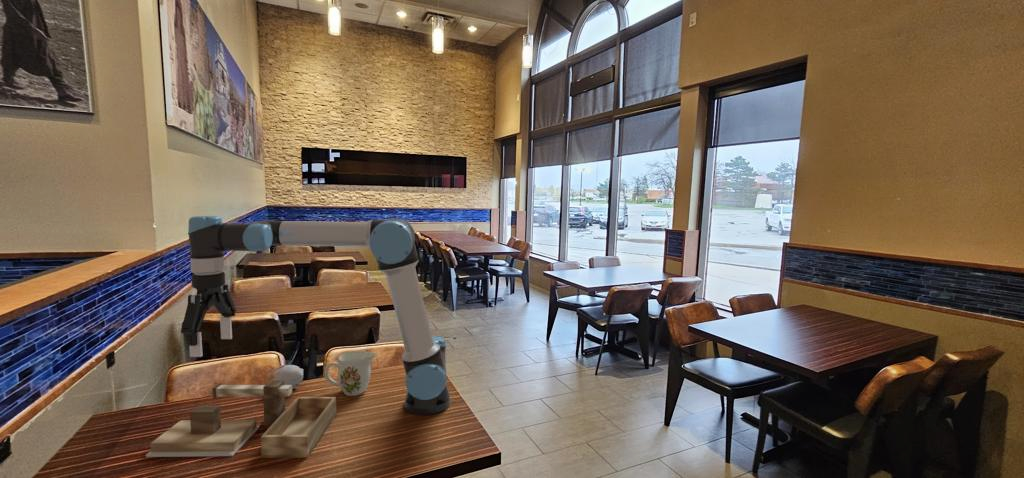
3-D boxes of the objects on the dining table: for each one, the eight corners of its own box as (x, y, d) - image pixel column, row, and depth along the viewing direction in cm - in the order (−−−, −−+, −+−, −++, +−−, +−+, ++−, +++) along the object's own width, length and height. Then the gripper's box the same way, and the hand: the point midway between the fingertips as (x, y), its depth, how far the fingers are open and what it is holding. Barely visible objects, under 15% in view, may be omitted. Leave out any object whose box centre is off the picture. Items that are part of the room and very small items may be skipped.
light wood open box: (336, 414, 136) (335, 377, 135) (307, 457, 114) (307, 413, 113) (274, 415, 135) (273, 377, 133) (234, 458, 113) (232, 413, 111)
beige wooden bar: (292, 393, 132) (292, 383, 131) (288, 398, 129) (287, 388, 128) (219, 393, 130) (219, 383, 130) (212, 398, 127) (212, 388, 127)
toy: (277, 393, 158) (267, 403, 144) (267, 371, 158) (257, 379, 144) (313, 376, 162) (307, 384, 148) (304, 355, 162) (297, 361, 148)
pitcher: (330, 385, 156) (329, 349, 155) (380, 384, 158) (380, 348, 157) (320, 399, 145) (319, 361, 144) (374, 398, 147) (374, 360, 146)
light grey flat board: (259, 427, 128) (259, 425, 127) (232, 456, 114) (232, 453, 114) (182, 427, 126) (182, 425, 126) (145, 456, 112) (145, 454, 112)
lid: (181, 428, 125) (179, 399, 124) (256, 427, 126) (255, 398, 125) (150, 452, 113) (148, 420, 112) (234, 451, 115) (232, 419, 114)
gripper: (221, 264, 129) (224, 332, 131) (159, 281, 104) (165, 365, 106) (247, 264, 129) (250, 332, 131) (192, 281, 104) (197, 364, 107)
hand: (212, 347), depth 119 cm, fingers open, 13 cm apart
